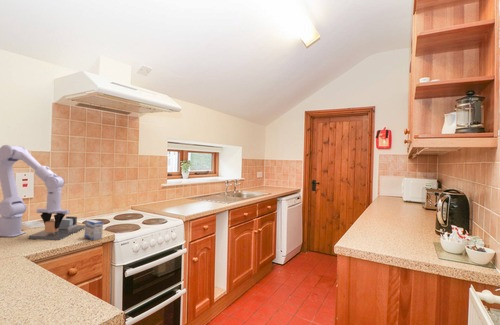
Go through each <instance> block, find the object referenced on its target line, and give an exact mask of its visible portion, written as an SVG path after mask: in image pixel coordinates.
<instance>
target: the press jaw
mask: <svg viewBox="0 0 500 325" xmlns="http://www.w3.org/2000/svg"><path fill="white" fill-rule="evenodd" d="M77 221H78V217H77V216H68V215H66V217H63V219H62V221H61V223H60V226H59V228H58V229H66V227H69V226H72V225H74V224H77V225H78V223H77Z"/></svg>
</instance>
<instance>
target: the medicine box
mask: <svg viewBox="0 0 500 325" xmlns="http://www.w3.org/2000/svg"><path fill="white" fill-rule="evenodd" d="M84 225H85V229H84V238H85V237H86V238H85V239H87V238H89V240H91V239H92V241H97V240H101V239H102V237H103V228H104V227H103V226H104V222H103V221H100V220H96V219H88V220H87V219H86V220H85V224H84Z"/></svg>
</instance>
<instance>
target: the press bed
mask: <svg viewBox="0 0 500 325" xmlns="http://www.w3.org/2000/svg"><path fill="white" fill-rule="evenodd" d="M84 228H85V224H83V225H81V224H78V223H77V224H74V225H72V226H69V227H66V229H58V231H56V232H54V233H49V232H45V229H44V230H41V231H39V232H36V233H32V234H29V235H28V239H29V240H49V241H53V240H55V241H61V240H63V239H65V238H67V237H69V235H70V236H71V234H72V235H74V234H77V233H79V232H81V231H83V230H85V229H84ZM82 229H83V230H82ZM80 230H81V231H80ZM78 231H79V232H78ZM73 233H74V234H73Z"/></svg>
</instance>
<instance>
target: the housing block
mask: <svg viewBox="0 0 500 325" xmlns="http://www.w3.org/2000/svg"><path fill="white" fill-rule="evenodd" d="M44 230H45V232H49V233H54V232H56V231H58V228H57V229H55V218H54V219H53V218H52V219H51V220H50V221H47V222H45V224H44Z"/></svg>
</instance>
